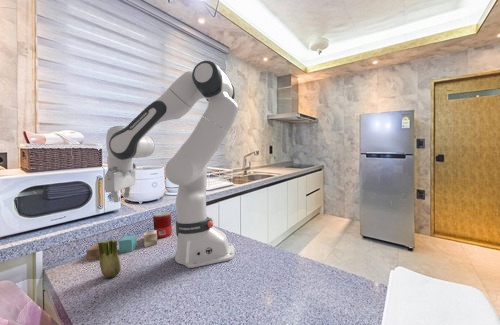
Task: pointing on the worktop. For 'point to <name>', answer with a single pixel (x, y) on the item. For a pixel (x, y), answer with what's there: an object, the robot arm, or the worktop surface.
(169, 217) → the canned food
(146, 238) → the birch cube
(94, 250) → the walnut slab
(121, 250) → the teal cube
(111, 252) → the fennel bulb
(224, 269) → the worktop surface
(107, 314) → the worktop surface
